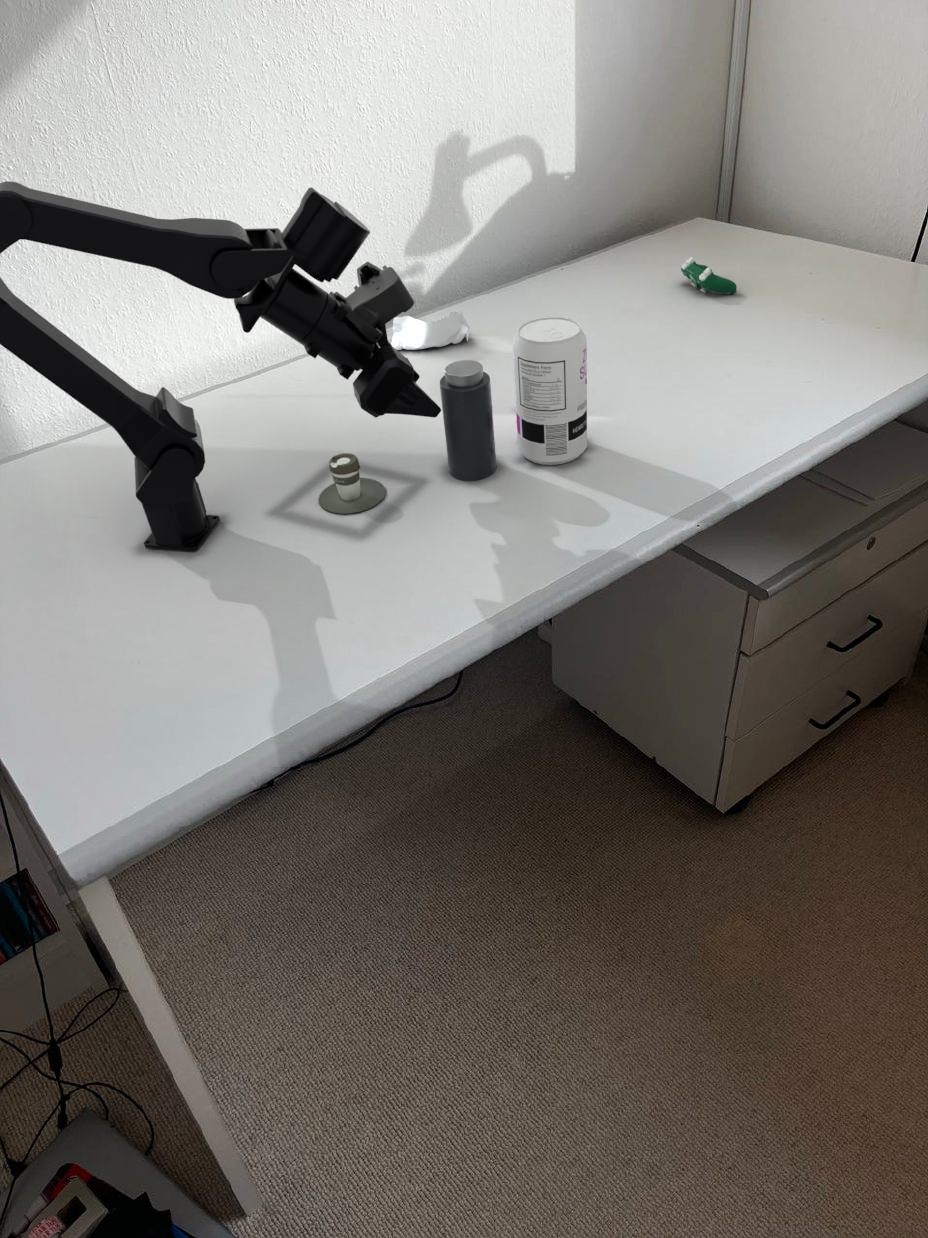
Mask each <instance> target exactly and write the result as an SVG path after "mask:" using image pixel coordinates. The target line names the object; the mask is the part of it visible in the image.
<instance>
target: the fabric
mask: <svg viewBox="0 0 928 1238" xmlns="http://www.w3.org/2000/svg"><path fill="white" fill-rule="evenodd" d="M392 323H393V324H392V331H393V333H392V338H391V345H392V346H393V347H394V348H395V349H396V350H397V351H401V350H403V349H404V350H407V351H416V350H425V349H428V348H434V347H436V348H440V347H441V348H442V347H445V346H448V345H450V344H454V345H455V344H456V345H457V344H459V343H461V342H462V341H463V340H464V338H465V337H466V342H469V336H470V334H471V331H470V329H471V328H470V326H469V325H468V322H467V321H466V319H465V317H464V315H463V312H462V311H461V310H458V311H451V312H450V313H449V315H447V316H444V317H442V318H441V319H438V320H436V321H435V320H434V321H430V322H426V321H423V320H421V319H417V318H414V317H412V316H410V315H404V316H396V317H395V318H393V322H392Z"/></svg>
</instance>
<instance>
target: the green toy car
mask: <svg viewBox="0 0 928 1238" xmlns="http://www.w3.org/2000/svg"><path fill="white" fill-rule="evenodd" d="M680 270H681V272H682V275H683V276H685V277H686V278H687V279H688V280H691V281H692V282H691V286H693V287H694V288H697V287H701V288H700V291H701V292H702V293H703V294H707V293H710V292H712V293H717V294H722V295H732V294H733V295H734V294H735V293H737V284H736V283H735V282H734V281H733V280H731V279H729V278H727V277H723V276H720V275H717V274H715V273H714V272H713V270H712V269H711V267H709V266H707V265H705V264H698V263H696V261H695V260H694V258H693V257H692V256H690V257H688V259H687V260H686V261H685V262H683V264H682V265H681V267H680Z"/></svg>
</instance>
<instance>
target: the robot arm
mask: <svg viewBox="0 0 928 1238" xmlns="http://www.w3.org/2000/svg"><path fill="white" fill-rule="evenodd" d="M370 234H371V230H370V229H369V228H368V227H367V226H366V225H365V224H364V223H363V222H362V221H360V219H358V218H357V217H356V216H355V215H354V214H353V213H351V212H350V211H349V210H348V209H346V208H345V207H344V206H343V205H342V204H340V203H339V202H338V201H336V200H335V201H332V200H331V199H330V198H329V197H327V196H325V195H324V194H321V193H320V192H319V191H317V190H316V189H315V188H314V187H312V186H311V187H308V188H307V190H306V191H305V193H304V194H303V196H302V198H301V200H300V203H299V206H298V208H297V210H296V211H295V212H294V214H293V215H292V217H291V218H290V220H289V221H288V223H287V225H286V226H285V228H284V229H283V230H281V229H280V228H278V227H275V228H274V227H273V228H272V227H270V228H269V227H268V228H266V227H265V228H244V227H243V226H242V225H240V224H239V223H236V222H234V221H232V220H228V219H218V218H201V217H188V218H187V217H185V218H176V219H175V218H174V219H169V218H157V217H152V216H148V215H144V214H140V213H135V212H131V211H127V210H123V209H118V208H114V207H110V206H106V205H102V204H97V203H93V202H88V201H85V200H81V199H76V198H72V197H67V196H65V195H58V194H55V193H50V192H48V191H47V192H46V191H43V190H39V189H35V188H30V187H27V186H25V185H23V184H22V183H19V182H16V181H7V180H6V181H3V182H0V255H1V254H2V253H4V252H5V251H6V250H7V249H8V248H9V247H11V246H13V245H14V244H15V243H17V242H18V241H20V240H26V241H30V242H33V243H38V244H44V245H48V246H53V247H57V248H63V249H67V250H71V251H76V252H81V253H84V254H85V253H86V254H90V255H94V256H99V257H103V258H108V259H113V260H118V261H122V262H127V263H132V264H137V265H142V266H146V267H150V268H154V269H157V270H160V271H162V272H165V273H167V274H169V275H171V276H173V277H174V278H176V279H177V280H180V281H182V282H184V283H186V284H187V285H189V286H192V287H193V288H197V289H199V290H201V291H204V292H207V293H209V294H212V295H214V296H217V297H220V298H222V299H227V300H228V299H229V300H233V303H234V307H235V309H236V311H237V313H238V315H239V316H238V317H239V322H240V325H241V328H242V331H243V332H244V333H246V334H248V333H251V331H252V330H253V328H254V327H255V325H256V323H257V322H258V320H259V319H260V318H261V319H263V320H264V321H265V322H266V323H268V324H269V325H271V326H273V327H274V328H276V329H278V330H279V331H281V332H282V333H283V334H285V335H286V336H288V337H290V338H291V339H293V340H294V341H296V342H297V343H299V344H300V345H301V346H303V347H304V351H305V352H306V354H307V355H308V356H310V357H312V358H314V359H316V358H317V357H318V356H319V357H320V358H322V359H323V360H324V361H326V362H327V363H329V364H331V365H332V366H334V367H335V368H336V370H337V372H338V374H339V376H341V377H342V378H344V379H345V380H348V381H349V379H350V377H352V375H353V374H354V372H355V371H356V372H359V371H360V370H361V371H360V373H359V374H358V375H357V377H356V378H355V379H354V381H353V382H352V388H353V392H354V393H353V394H354V396H355V398H356V401H357V403H358V405H359V407H360V409H361V410H362V411H365V412H366V413H367V414H369V415H371V416H372V417H373V418H375V419H377V418H379V417H381V416H382V417H383V416H384V415H387V414H388V415H404V416H405V415H406V416H416V417H426V418H427V417H428V418H437V417H438V416H439V415H440V414H441V412H442V407H440V406H439V404H437V403H436V402H435V401H434V400H433V398H432V397H430V395H428V393H427V392H426V391H424V390H423V389H422V388H421V386H419V385H418V383H417V382H418V381H419V379H420V377H421V376H420V374H419V373H418V372H417V371H416V370H415V368H414V365H412V363H411V362H410V360H409V358H408V357H406V356H405V355H403V353H401V352H400V350H396V349H395V348H394V347H393V346H392V343H391V342H390V341H389V339H388V333H387V327H386V326H387V325H386V324H388V323H389V322H390V321H392V320H394V318H395V317H398V316H399V315H401V314H402V313H407V312H408V311H410V310H411V309H412V308H413V306H414V305H415V300H414V298H413V296H412V295H411V293H410V292H409V290H408V289H407V287H406V285H405V284H404V283H403V281H402V279H401V277H400V276H399V274H398V273H397V272H396V270H395V269H394V268H393V267H392V266H387V265H386V264H385V265H383V266H382V269H381V268H379V267H378V266H377V265H375V264H373V263H371V262H370V261H366V262H365V263H363V264H361V265H360V266H358V267H357V268H356V276H357V284H358V285H355V286H354V287H353V289H354V291H353V292H351V293H350V294H348V296H347V297H345V296H344V295H342V294H341V293H340V292H338V291H335V292H333V291H332V290H331V291H330V292H328V291H326V290H324V289H323V288H322V287H320V286H319V285H318V284H316V283H315V282H313V281H312V280H310V279H309V278H307V277H306V275H303V274H302V273H301V272H299V271H298V270H296V269H295V268H294V266H297V267H298V268H299V269H301V270H302V271H303V272H305V273H306V274H307V275H308V276H309V277H311V278H313V279H314V280H316V281H317V282H320V283H324V281H326V282H328V283H331V281H332V280H336V281H337V280H339V278H340V277H341V276H342V274H343V273H344V271H345V270H346V269H347V267H348V266H349V264H350V263H351V261H352V260H353V259H354V257H355V255H356V254H357V253H358V251H359V250H360V249H361V247H362V245H363V244H364V242H365V241H366V240H367V238H368V237H369V235H370ZM0 346H2V347H3V348H4V349H6V350H7V351H8V352H9V353H11V354H13V355H14V356H15V357H17V358H18V359H19V360H21V361H22V362H23V363H25V364H26V365H27V366H29V367H30V368H31V369H33V370H34V371H36V372H37V373H38V374H40V376H42V377H44V378H45V379H47V380H48V381H49V382H51V383H52V384H53V385H55V387H57V388H59V389H60V390H61V391H63V392H64V393H65V394H67V395H68V396H69V397H71V398H72V399H74V400H75V401H76V402H78V403H79V404H80V405H82V406H83V407H84V408H86V409H87V410H88V411H90V412H91V413H93V414H94V415H95V416H97V417H99V419H101V420H102V421H103V422H105V423H106V424H107V425H109V426H110V427H111V428H112V429H114V430H115V431H116V432H117V434H118V435H119V437H120V438H121V439H122V441H123V442H124V444H125V445H126V447H128V449H129V450H130V451H131V453H132V454H133V456H134V458H133V459H134V484H135V485H134V487H135V497H136V499H137V500H138V501H139V502H140V503H141V506H142V508H143V512H144V515H145V517H146V520H147V523H148V526H149V528H150V531H151V533H150V535H149V536H148V537H147V538H146V539H145V540H144V542H143V546H144V548H145V549H153V550H155V549H156V550H167V551H168V550H171V551H184V552H197V551H198V550H199V549H200V548H201V547H202V545H203V544H204V542H205V541H206V540H207V539H208V537H209V536H210V535H211V534H212V532H213V531H214V529H215V528H216V527H217V526H218V524H219V523H220V522H221V517H220V515H217V514H216V515H215V514H207V508H206V505H205V502H204V498H203V495H202V492H201V488H200V486H199V485H200V484H199V483H198V482H197V477H199V476H200V475H201V473H202V471H203V470H204V468H205V464H206V454H205V447H204V442H203V437H202V431H201V426H200V424H199V421H198V420H197V419H196V417H195V412H194V408H193V407H190V406H187V405H185V404H183V403H181V401H178V399H177V398H175V396H174V395H173V393H171V392H170V391H169V390H168V389H167V387H164V386H162V387H161V388H160V390H159V391H158V393H157V394H156V395H152V394H149V393H146V392H142V391H140V390H138V389H136V388H135V387H134V386H132V385H130V384H129V383H128V382H127V381H125V380H124V379H123V378H122V377H120V376H119V375H118V374H117V373H116V372H114V371H113V370H112V369H110V368H109V367H108V366H106V365H105V364H104V363H102V362H101V361H100V360H99V359H98V358H96V357H95V356H93V354H91V353H90V352H88V351H87V350H86V349H85V348H83V347H82V346H81V345H79V344H78V343H77V342H76V341H75V340H73V339H72V338H70V337H69V336H68V335H66V334H65V333H64V332H62V330H60V329H59V328H58V327H56V326H55V325H53V323H52V322H50V321H49V320H47V319H46V318H45V317H44V316H42V315H41V314H40V313H38V312H37V311H35V309H33V308H32V307H30V305H28V304H27V303H26V302H25V301H23V300H22V299H20V298H19V297H18V296H16V295H15V294H14V293H13V292H12V290H11V289H10V288H9V287H8V285H7V284H6V282H5V281H4V280H3V279H2V277H0Z"/></svg>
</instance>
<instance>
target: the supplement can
mask: <svg viewBox="0 0 928 1238" xmlns="http://www.w3.org/2000/svg"><path fill="white" fill-rule="evenodd" d="M587 341H588V340H587V336H586V334H585V333H584V331H583V329H582V326H581V324H580V323H579V322H578V321H576V320H574V319H572V318H569V317H568V318H567V317H562V316H546V317H538V318H534V319H530V320H527V321H526V322H524V323H522V324H521V325H520V326H519V327H518V328H517V333H516V335H515V337H514V339H513V341H512V359H513V360H512V361H513V377H514V378H513V379H514V380H513V381H514V395H515V398H514V399H515V414H516V432H517V447H518V448H517V450H518V452H520V454H521V456H524V457H525V458H526V459H527V460H529V461H530V462H532V463H535V464H538V465H545V466H546V465H548V466H554V465H556V466H557V465H562V464H567V463H569V462H572V461H574V460H576V459H577V458H579V457H580V455H582V454H583V453H584V452H585V451H586V449H587V448H588V367H587V366H588V363H587V359H588V357H587V356H588V355H587V353H588V348H587V347H588V346H587V345H588V344H587V343H588V342H587Z"/></svg>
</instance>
